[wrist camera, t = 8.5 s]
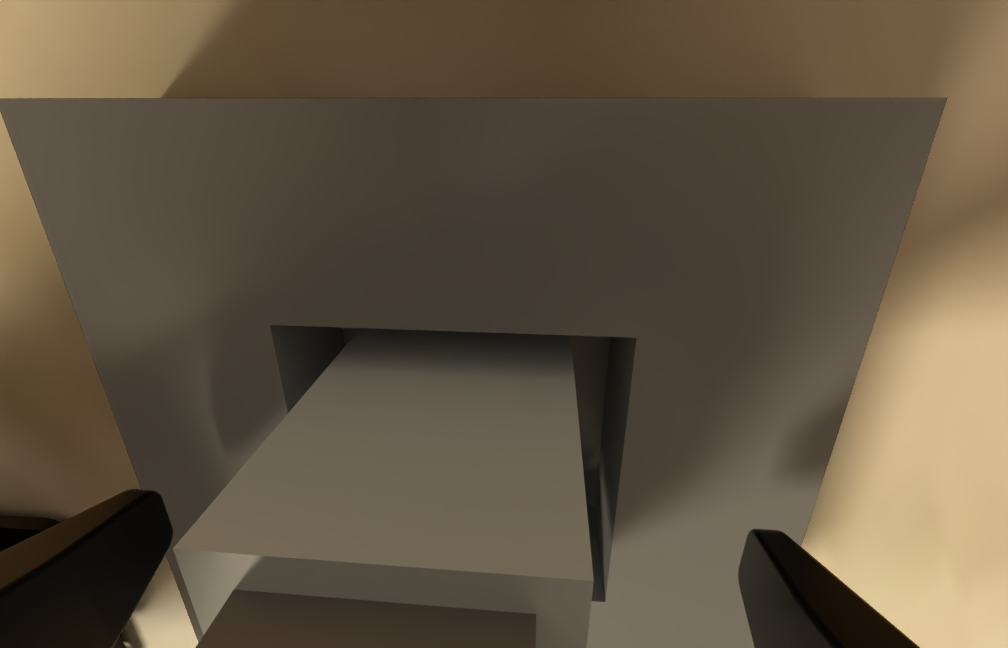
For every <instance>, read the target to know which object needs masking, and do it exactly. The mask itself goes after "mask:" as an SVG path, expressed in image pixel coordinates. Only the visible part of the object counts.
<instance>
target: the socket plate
mask: <svg viewBox="0 0 1008 648" xmlns="http://www.w3.org/2000/svg"><path fill="white" fill-rule="evenodd" d="M946 100H947V98H18V99H0V112H1V114H2V117H3V120H4V122H5V125H6V128H7V130H8V133H9V136H10V138H11V141H12V144H13V146H14V149H15V152H16V154H17V157H18V160H19V163H20V165H21V168H22V171H23V173H24V176H25V179H26V181H27V184H28V187H29V189H30V192H31V195H32V197H33V200H34V203H35V205H36V208H37V211H38V213H39V216H40V219H41V221H42V224H43V227H44V229H45V232H46V235H47V238H48V240H49V243H50V246H51V248H52V251H53V254H54V256H55V259H56V262H57V264H58V267H59V270H60V272H61V275H62V278H63V280H64V283H65V286H66V288H67V291H68V294H69V296H70V299H71V302H72V305H73V307H74V310H75V313H76V315H77V318H78V321H79V323H80V326H81V329H82V331H83V334H84V337H85V339H86V342H87V345H88V347H89V350H90V353H91V355H92V358H93V361H94V363H95V366H96V369H97V371H98V374H99V377H100V380H101V382H102V385H103V388H104V390H105V393H106V396H107V398H108V401H109V404H110V406H111V409H112V412H113V414H114V417H115V420H116V422H117V425H118V428H119V430H120V433H121V436H122V438H123V441H124V444H125V446H126V449H127V452H128V455H129V457H130V460H131V463H132V465H133V468H134V471H135V473H136V476H137V479H138V481H139V484H140V487H141V489H142V490H154V491H157V492H158V493H159V494H160V495H161V496H162V498H163V501H164V504H165V507H166V510H167V512H168V515H169V518H170V521H171V524H172V527H173V539H172V542H171V544H170V547H169V548H168V550H167V552H166V556H167V559H168V562H169V564H170V567H171V570H172V572H173V575H174V578H175V580H176V583H177V586H178V588H179V591H180V594H181V597H182V599H183V602H184V605H185V607H186V610H187V613H188V615H189V618H190V621H191V623H192V626H193V629H194V631H195V634H196V637H197V639H198V642H200V640H201V639H202V637H203V636H204V635H203V632H202V629H201V627H200V624H199V621H198V618H197V615H196V613H195V610H194V607H193V604H192V601H191V599H190V596H189V593H188V590H187V587H186V585H185V582H184V579H183V576H182V573H181V571H180V568H179V565H178V562H177V559H176V557H175V554H174V551H173V548H174V547H175V546H176V544H177V543H178V542H179V541H180V540H181V539H182V537H183V536H184V535H185V534H186V533H187V532H188V530H189V529H190V528H191V527H192V526H193V525H194V523H195V522H196V521H197V520H198V519H199V517H200V516H201V515H202V514H203V513H204V512H205V510H206V509H207V508H208V507H209V506H210V505H211V503H212V502H213V501H214V500H215V499H216V498H217V496H218V495H219V494H220V493H221V492H222V490H223V489H224V488H225V487H226V486H227V485H228V483H229V482H230V481H231V480H232V479H233V478H234V476H235V475H236V474H237V473H238V472H239V471H240V469H241V468H242V467H243V466H244V465H245V463H246V462H247V461H248V460H249V459H250V458H251V456H252V455H253V454H254V453H255V452H256V451H257V449H258V448H259V447H260V446H261V445H262V443H263V442H264V441H265V440H266V439H267V438H268V436H269V435H270V434H271V433H272V432H273V431H274V429H275V428H276V427H277V426H278V425H279V424H280V422H281V421H282V420H283V419H284V418H285V416H286V415H287V414H288V413H289V412H290V411H291V409H292V408H293V407H294V406H295V405H296V404H297V402H298V401H299V400H300V399H301V398H302V397H303V395H304V394H305V393H306V392H307V391H308V389H309V388H310V387H311V386H312V385H313V384H314V382H315V381H316V380H317V379H318V378H319V377H320V375H321V374H322V373H323V372H324V371H325V370H326V368H327V367H328V366H329V365H330V364H331V362H332V361H333V360H334V359H335V358H336V357H337V355H338V354H339V353H340V352H341V351H342V350H343V348H344V347H345V346H346V345H347V344H348V343H349V341H350V340H351V339H352V338H353V337H354V335H355V334H356V333H357V332H358V331H359V330H360V328H372V329H400V330H428V331H457V332H485V333H513V334H542V335H570V336H571V345H572V355H573V366H574V377H575V387H576V398H577V409H578V419H579V430H580V440H581V451H582V462H583V472H584V483H585V494H586V504H587V515H588V525H589V536H590V547H591V557H592V568H593V579H594V583H593V592H592V601H591V610H590V619H589V628H588V637H587V646H586V648H754V644H753V640H752V636H751V632H750V628H749V624H748V620H747V615H746V611H745V607H744V603H743V599H742V595H741V591H740V587H739V581H738V569H739V565H740V561H741V557H742V553H743V550H744V546H745V542H746V538H747V535H748V533H749V532H750V530H752V529H770V530H779V531H782V532H783V533H785V534H786V535H788V536H789V537H790V538H791V539H792V540H794V541H795V542H796V543H797V544H798V545H800V546H801V545H802V542H803V539H804V536H805V532H806V529H807V526H808V523H809V520H810V517H811V514H812V511H813V508H814V505H815V502H816V499H817V496H818V493H819V490H820V487H821V483H822V480H823V477H824V474H825V471H826V468H827V465H828V462H829V459H830V456H831V453H832V450H833V447H834V444H835V441H836V437H837V434H838V431H839V428H840V425H841V422H842V419H843V416H844V413H845V410H846V407H847V404H848V401H849V398H850V395H851V392H852V388H853V385H854V382H855V379H856V376H857V373H858V370H859V367H860V364H861V361H862V358H863V355H864V352H865V349H866V346H867V342H868V339H869V336H870V333H871V330H872V327H873V324H874V321H875V318H876V315H877V312H878V309H879V306H880V303H881V300H882V296H883V293H884V290H885V287H886V284H887V281H888V278H889V275H890V272H891V269H892V266H893V263H894V260H895V257H896V254H897V251H898V247H899V244H900V241H901V238H902V235H903V232H904V229H905V226H906V223H907V220H908V217H909V214H910V211H911V208H912V205H913V201H914V198H915V195H916V192H917V189H918V186H919V183H920V180H921V177H922V174H923V171H924V168H925V165H926V162H927V159H928V155H929V152H930V149H931V146H932V143H933V140H934V137H935V134H936V131H937V128H938V125H939V122H940V119H941V116H942V113H943V110H944V106H945V103H946Z"/></svg>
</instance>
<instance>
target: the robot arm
mask: <svg viewBox="0 0 1008 648" xmlns="http://www.w3.org/2000/svg"><path fill="white" fill-rule="evenodd" d="M172 539H173V527H172V524H171V521H170V518H169V515H168V512H167V510H166V507H165V504H164V501H163V498H162V496H161V495H160V494H159V493H158V492H157V491H154V490H139V489H133V490H127V491H125V492H123V493H120V494H118V495H116V496H114V497H112V498H110V499H108V500H106V501H104V502H102V503H100V504H98V505H96V506H94V507H92V508H90V509H88V510H86V511H84V512H82V513H80V514H77V515H75V516H73V517H71V518H69V519H67V520H65V521H63V522H59V521H57V520H53V519H45V518H31V517H16V516H1V515H0V648H125V646H124V644H123V642H122V639H121V637H120V634H121V632H122V631H123V629H124V627H125V625H126V624H127V622H128V620H129V618H130V617H131V615H132V613H133V611H134V609H135V608H136V606H137V604H138V602H139V600H140V599H141V597H142V595H143V593H144V591H145V590H146V588H147V586H148V584H149V583H150V581H151V579H152V577H153V575H154V574H155V572H156V570H157V568H158V566H159V565H160V563H161V561H162V559H163V557H164V556H165V554H166V552H167V550H168V548H169V547H170V544H171V542H172ZM738 581H739V587H740V591H741V595H742V599H743V603H744V607H745V611H746V615H747V620H748V624H749V628H750V632H751V636H752V640H753V644H754V648H920V647H919V646H917V645H916V644H915V643H914V642H913V641H912V640H910V639H909V638H908V637H907V636H906V635H904V634H903V633H902V632H901V631H900V630H899V629H897V628H896V627H895V626H894V625H893V624H891V623H890V622H889V621H888V620H887V619H886V618H884V617H883V616H882V615H881V614H880V613H878V612H877V611H876V610H875V609H874V608H873V607H871V606H870V605H869V604H868V603H867V602H866V601H864V600H863V599H862V598H861V597H860V596H858V595H857V594H856V593H855V592H854V591H853V590H851V589H850V588H849V587H848V586H847V585H845V584H844V583H843V582H842V581H841V580H840V579H838V578H837V577H836V576H835V575H834V574H833V573H831V572H830V571H829V570H828V569H827V568H825V567H824V566H823V565H822V564H821V563H820V562H818V561H817V560H816V559H815V558H814V557H812V556H811V555H810V554H809V553H808V552H807V551H805V550H804V549H803V548H802V547H801V546H800V545H798V544H797V543H796V542H795V541H794V540H792V539H791V538H790V537H789V536H788V535H786V534H785V533H783V532H782V531H779V530H770V529H752V530H750V532H749V533H748V535H747V538H746V542H745V546H744V550H743V553H742V557H741V561H740V565H739V569H738Z"/></svg>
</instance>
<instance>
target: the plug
mask: <svg viewBox="0 0 1008 648" xmlns="http://www.w3.org/2000/svg"><path fill="white" fill-rule="evenodd" d="M173 551H174V554H175V557H176V559H177V562H178V565H179V568H180V571H181V573H182V576H183V579H184V582H185V585H186V587H187V590H188V593H189V596H190V599H191V601H192V604H193V607H194V610H195V613H196V615H197V618H198V621H199V624H200V627H201V629H202V632H203V635H204V636H203V637H202V639H201V640H200V642H199V643H198V645H197V646H196V648H586V646H587V637H588V628H589V619H590V610H591V601H592V592H593V583H594V579H593V568H592V557H591V547H590V536H589V525H588V515H587V504H586V494H585V483H584V472H583V462H582V451H581V440H580V430H579V419H578V409H577V398H576V387H575V377H574V366H573V355H572V345H571V336H570V335H542V334H513V333H485V332H457V331H428V330H400V329H372V328H360V330H359V331H358V332H357V333H356V334H355V335H354V337H353V338H352V339H351V340H350V341H349V343H348V344H347V345H346V346H345V347H344V348H343V350H342V351H341V352H340V353H339V354H338V355H337V357H336V358H335V359H334V360H333V361H332V362H331V364H330V365H329V366H328V367H327V368H326V370H325V371H324V372H323V373H322V374H321V375H320V377H319V378H318V379H317V380H316V381H315V382H314V384H313V385H312V386H311V387H310V388H309V389H308V391H307V392H306V393H305V394H304V395H303V397H302V398H301V399H300V400H299V401H298V402H297V404H296V405H295V406H294V407H293V408H292V409H291V411H290V412H289V413H288V414H287V415H286V416H285V418H284V419H283V420H282V421H281V422H280V424H279V425H278V426H277V427H276V428H275V429H274V431H273V432H272V433H271V434H270V435H269V436H268V438H267V439H266V440H265V441H264V442H263V443H262V445H261V446H260V447H259V448H258V449H257V451H256V452H255V453H254V454H253V455H252V456H251V458H250V459H249V460H248V461H247V462H246V463H245V465H244V466H243V467H242V468H241V469H240V471H239V472H238V473H237V474H236V475H235V476H234V478H233V479H232V480H231V481H230V482H229V483H228V485H227V486H226V487H225V488H224V489H223V490H222V492H221V493H220V494H219V495H218V496H217V498H216V499H215V500H214V501H213V502H212V503H211V505H210V506H209V507H208V508H207V509H206V510H205V512H204V513H203V514H202V515H201V516H200V517H199V519H198V520H197V521H196V522H195V523H194V525H193V526H192V527H191V528H190V529H189V530H188V532H187V533H186V534H185V535H184V536H183V537H182V539H181V540H180V541H179V542H178V543H177V544H176V546H175V547H174V548H173Z"/></svg>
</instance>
